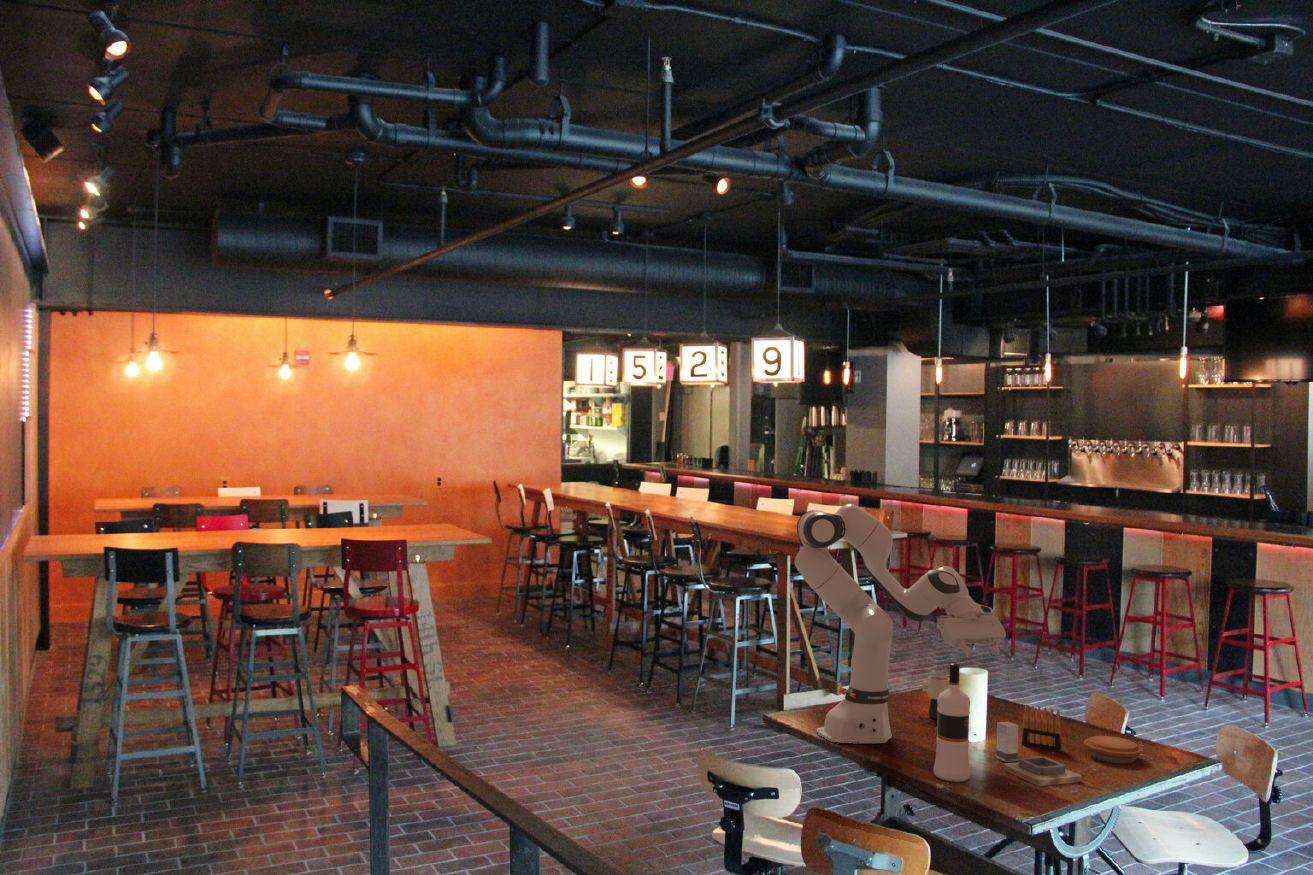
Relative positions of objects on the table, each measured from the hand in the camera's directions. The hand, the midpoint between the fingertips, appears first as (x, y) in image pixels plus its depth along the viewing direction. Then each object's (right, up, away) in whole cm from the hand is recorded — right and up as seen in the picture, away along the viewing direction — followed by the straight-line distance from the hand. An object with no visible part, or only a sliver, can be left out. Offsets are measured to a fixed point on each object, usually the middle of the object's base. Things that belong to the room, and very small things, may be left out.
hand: (983, 654), depth 291 cm
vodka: (-18, -27, -28) cm, 42 cm away
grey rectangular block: (+3, -27, -11) cm, 29 cm away
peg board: (+8, -27, -24) cm, 37 cm away
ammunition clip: (+18, -28, +2) cm, 33 cm away
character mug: (-4, -28, +31) cm, 42 cm away
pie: (+35, -29, -6) cm, 46 cm away
